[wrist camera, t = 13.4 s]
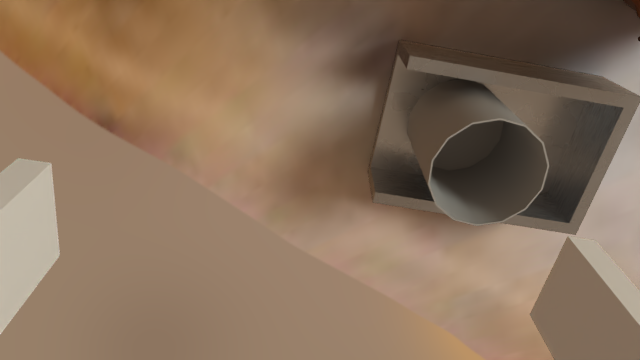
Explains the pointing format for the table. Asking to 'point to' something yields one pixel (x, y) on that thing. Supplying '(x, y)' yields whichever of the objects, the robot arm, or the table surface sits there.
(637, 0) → the case
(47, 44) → the table surface
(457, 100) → the cup
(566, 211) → the silver open box
